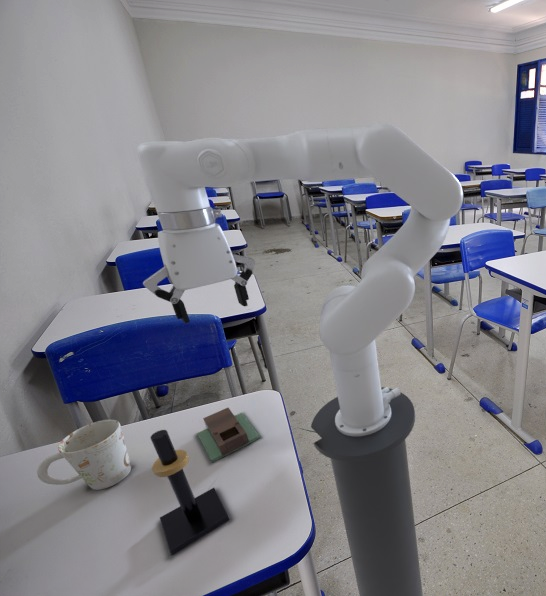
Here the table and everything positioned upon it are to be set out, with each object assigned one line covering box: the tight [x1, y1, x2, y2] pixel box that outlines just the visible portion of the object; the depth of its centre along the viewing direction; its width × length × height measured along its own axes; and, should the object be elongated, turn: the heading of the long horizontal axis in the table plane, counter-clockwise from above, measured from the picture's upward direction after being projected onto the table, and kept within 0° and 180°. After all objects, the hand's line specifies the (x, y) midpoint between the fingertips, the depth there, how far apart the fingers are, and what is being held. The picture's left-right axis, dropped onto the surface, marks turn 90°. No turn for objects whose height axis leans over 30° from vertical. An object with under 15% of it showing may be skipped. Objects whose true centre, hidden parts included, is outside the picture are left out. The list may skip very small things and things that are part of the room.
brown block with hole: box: [202, 407, 250, 457], centre depth 79 cm, size 12×5×2 cm, turn 45°
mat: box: [196, 412, 261, 463], centre depth 79 cm, size 9×11×1 cm
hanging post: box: [150, 429, 230, 556], centre depth 58 cm, size 8×8×18 cm
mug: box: [36, 419, 132, 491], centre depth 68 cm, size 8×13×10 cm, turn 124°
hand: (215, 312), depth 70 cm, fingers open, 9 cm apart
